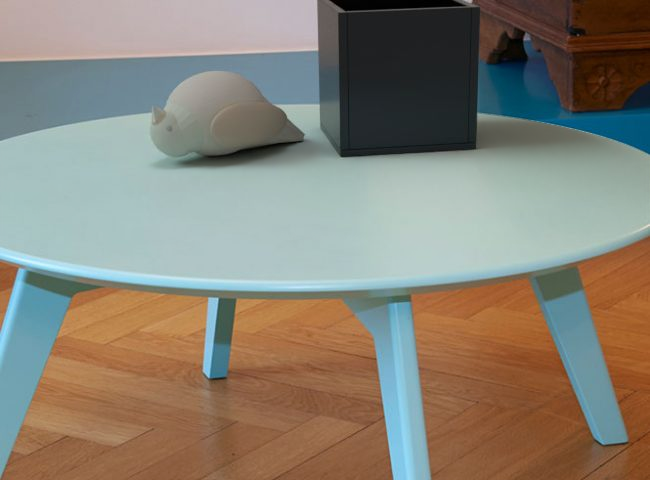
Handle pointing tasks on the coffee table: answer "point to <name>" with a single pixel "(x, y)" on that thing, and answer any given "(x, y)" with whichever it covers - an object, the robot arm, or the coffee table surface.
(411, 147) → the dark grey square box
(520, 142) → the coffee table surface
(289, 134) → the decorative bird
